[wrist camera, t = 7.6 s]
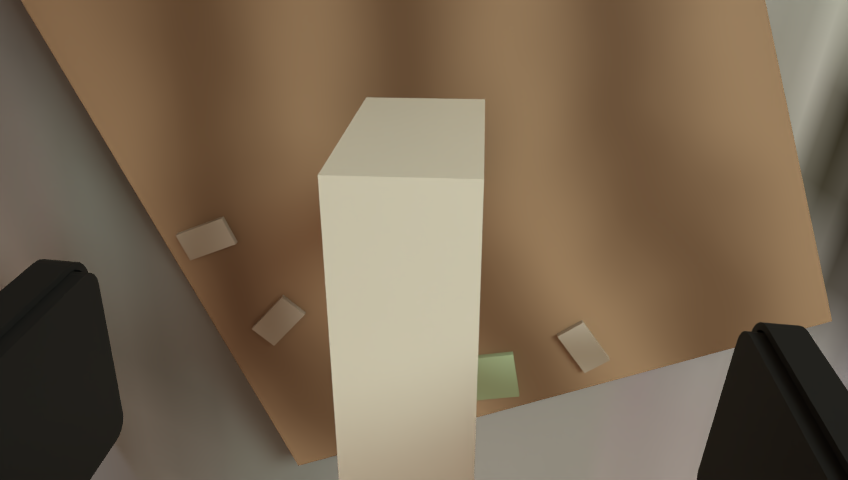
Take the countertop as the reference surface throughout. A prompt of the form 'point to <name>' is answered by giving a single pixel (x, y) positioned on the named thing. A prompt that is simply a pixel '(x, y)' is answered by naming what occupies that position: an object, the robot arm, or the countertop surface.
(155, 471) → the countertop surface
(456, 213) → the cream box
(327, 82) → the dial board
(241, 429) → the countertop surface
